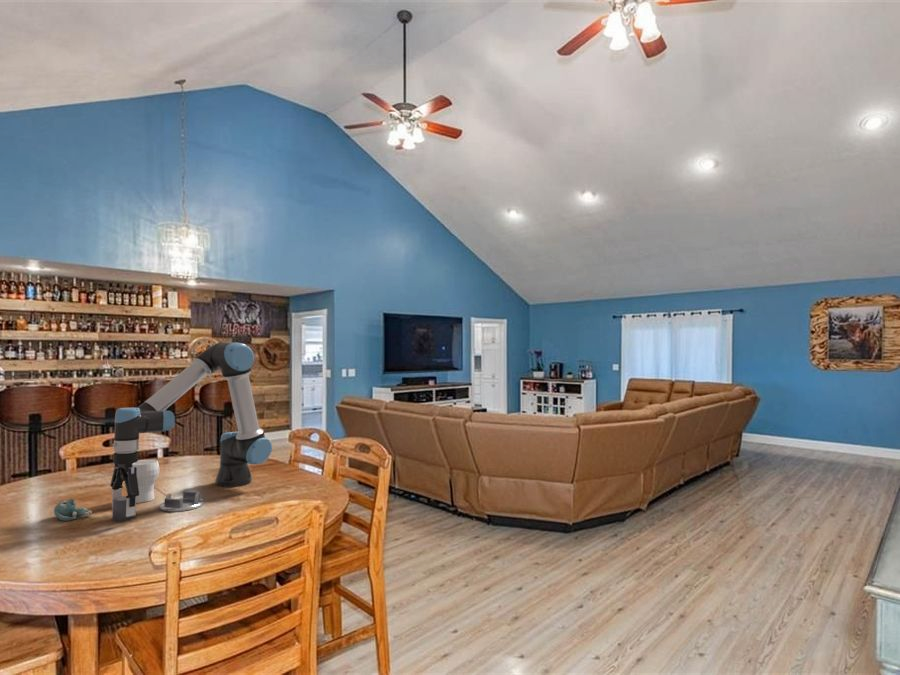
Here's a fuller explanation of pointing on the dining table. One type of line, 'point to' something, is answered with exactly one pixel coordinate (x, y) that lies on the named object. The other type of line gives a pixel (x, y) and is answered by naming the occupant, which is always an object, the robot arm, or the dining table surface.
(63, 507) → the stuffed animal
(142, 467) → the cup
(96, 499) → the dining table surface
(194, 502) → the grey stand base
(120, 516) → the gray cube
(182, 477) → the dining table surface
